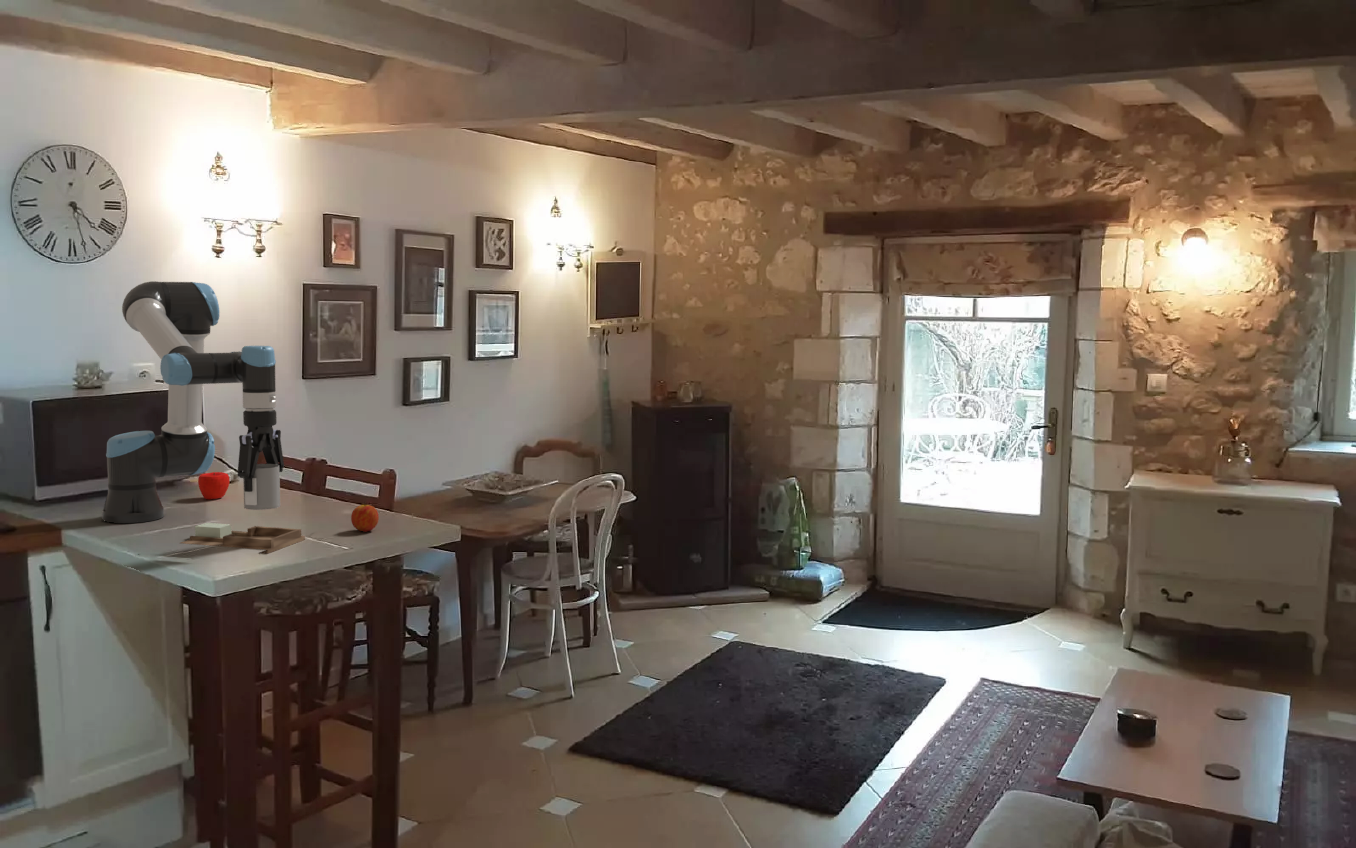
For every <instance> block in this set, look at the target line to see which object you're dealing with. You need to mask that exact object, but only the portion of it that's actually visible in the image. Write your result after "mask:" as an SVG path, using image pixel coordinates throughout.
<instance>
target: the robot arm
mask: <svg viewBox="0 0 1356 848" xmlns="http://www.w3.org/2000/svg"><path fill="white" fill-rule="evenodd" d="M217 297H218V296H217V295H216V293H215V290H214V289H213V288H212V287H211V286H210V285H209V284H207V283H203V282H196V281H195V282H193V281H155V280H154V281H147V282H143V283H140V284H138V285H136V286H135V287H133V288H132V289H130V291H128V292H127V294H126V295H125V297H124V299H123V302H122V306H121V307H122V308H121V312H122V316H123V318H124V320H125V322H126V323H127V325H128V326H129V327H130V328H131V329H132V330H133V331H136V332H138V333H139V334H140V335H141V336H142V337H143V338H144V339H145V341H146V343H148V344H149V345H150V347H151V348H152V350H153V351H154V352H155V353H156V355H157V356H158V358H159V359H160V368H159V369H160V374H161V376H162V380H163V382H164V383H165V384H167V385H168V394H167V395H168V396H167V397H168V399H167V403H168V404H167V422H166V423H164V425H162V426H161V433H160V434H159V435H156V434H155V433H154V431H152V430H140V431H139V430H136V431H130V432H125V433H120V434H115V435H114V436H112V437H109V439H108V440H107V442H106V453H105V456H106V469H107V471H106V472H107V487H108V488H107V495H106V498H105V502H104V505H103V509H102V511H101V520H102V519H103V520H105V521H108V522H107V523H109V522H114V523H113V524H134V523H145V522H152V521H156V520H159V519H162V518H164V517H165V508H164V506H163V505H162V500H161V499H160V496H159V492H158V491H157V481H156V480H157V479H159V478H167V477H170V478H171V477H181V476H193V475H198V474H199V475H200V474H204V473H205V472H207V471H208V470H209V469H210V468H211V467H212V465H213V462H214V459H215V455H216V454H215V453H216V445H215V438H214V436H213V435H212V433H210V432H208V427H206V425H205V424H203V421H202V420H203V419H202V418H203V389H204V387H203V385H209V384H210V385H211V384H212V385H213V384H215V385H216V384H217V385H218V384H241V385H242V409H245V410H244V411H243V412H242V413H243V415H242V417H243V420H242V421H243V425H244V426H245V427H247V433H246V434H244V435H242V434H240V435H239V436H238V439H239V454H238V463H237V464H238V465H237V472H236V473H237V477H239V479H243V478H244V485H243V491H244V490H245V505H257V483H256V478H254V474H255V470H256V466H257V464H258V461H259V456H260V453H261V452H262V454H263V457H264V459H265V464H277V465H279V473H282V472H283V469H284V468H285V463H284V461H285V460H284V455H283V449H282V441H281V437H282V436H281V433H282V432H281V429H274V428H273V427H274V426H275V425H277V410H276V409H275V408H276V407H277V400H276V399H277V396H276V395H277V394H276V362H277V361H276V356H275V349H274V347H273V346H271V345H245V346H243V347H242V348H241V351H230V352H204V351H205V349H204V348H205V340H206V338H207V337H208V336H209V335H210V334H211V327H214V326H216V325H217V324H218V323H219V320H220V306H219V300H218V298H217ZM103 520H102V521H103ZM105 521H104V522H105Z"/></svg>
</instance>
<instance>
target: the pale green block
mask: <svg viewBox="0 0 1356 848" xmlns="http://www.w3.org/2000/svg"><path fill="white" fill-rule="evenodd" d="M231 531H232V524H229V523H217V522H216V523H215V522H205V523H202V524H198V525H195V526H194V536H202V537H215V538H223V536H226V535H229V534H232V532H231Z"/></svg>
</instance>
